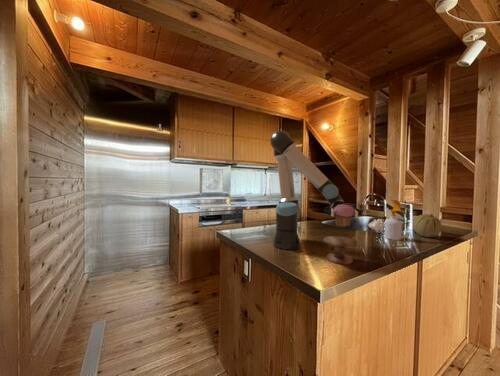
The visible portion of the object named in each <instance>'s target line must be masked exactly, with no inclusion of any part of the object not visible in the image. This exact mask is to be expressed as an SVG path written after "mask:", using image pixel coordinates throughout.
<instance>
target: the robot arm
mask: <svg viewBox="0 0 500 376" xmlns="http://www.w3.org/2000/svg"><path fill="white" fill-rule="evenodd" d="M296 144H297V143H296V142H295V141H294V140H293V139H292V138H291V135H290V134H289V133H288V132H287V131H285V130H277V131H275V132H274V133H273V134H272V135H271V137H270V146H271V147H272V148H273V154H274V156H273V157H274V158H275V159H276V161H277V171H278V172H277V173H278V180H279V181H278V182H279V189H280V190H279V191H280V192H279V193H280V199H279V200H278V203H277V204H276V208H275V214H276V215H275V220H276V221H275V225H276V226H275V233H274V236H273V240H272V246H273V245H274V246H276V247H275V248H277V247H278V248H277V249H280V248H282V249H281V250H295V249H299V248H301V240H300V235H299V233H298V219H299V217H300V215H301V210H300V205H299V198H297V197H296V193H295V192H296V190H295V183H294V182H295V181H294V173H293V172H294V171H293V165H294V167H296V168H297V170H298V171H299V172H301V174H302V175H303V176H305V177H306V179H307V180H308V181H309V182H310V183H311V184H312V185H313V186H314V187H315V188H316V189H317V191H319V192H320V193H321V194H322V195H323V197H324V198H325V200H326V201H327V202H328V204H329V205H326V207H324V209H323V210H324V211H323V213H324V214H327V215H328V216H331V217H334V218H335V214H334V210H333V209H334V208H335V207H336V206H337V205H340V204H345V205H348V204H347V202H345V201H344V200H343V198H342V196H341V195H340V192H339V187H337V186H336V185H335V184H334V183H333V182H332V181H331V180H330V179H329V178H328V177H327V176H326V175H325V174H324V173H323V172H322V171H321V170H320V169H319V168H318V167H317V166H316V165H315V164H314V163H313V162H312V161H311V160H310V159H309V158H308V157H307V156H306V155H305V153H303V152H302V151H301V150H300V149H299V148H298V147H297V146H296ZM352 207H353V209H354V215H353V216H352V217H354V218H355V219H358V217H359V216H363V210H362V209H360V208H356V207H355V206H352ZM274 246H273V247H274Z"/></svg>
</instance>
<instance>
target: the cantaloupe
mask: <svg viewBox="0 0 500 376" xmlns="http://www.w3.org/2000/svg"><path fill="white" fill-rule="evenodd" d="M442 226H443V225H442V222H441V220H440V219H439V218H438V217H437V216H435V215H434V214H420V215H418V216H416V217H415V218H414V220H413V222H412V228H413V230H414V231H415V233H416V234H418V235H419V236H421V237H425V238H434V237H436V236H439V234H441V232H442V229H443V228H442Z"/></svg>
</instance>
